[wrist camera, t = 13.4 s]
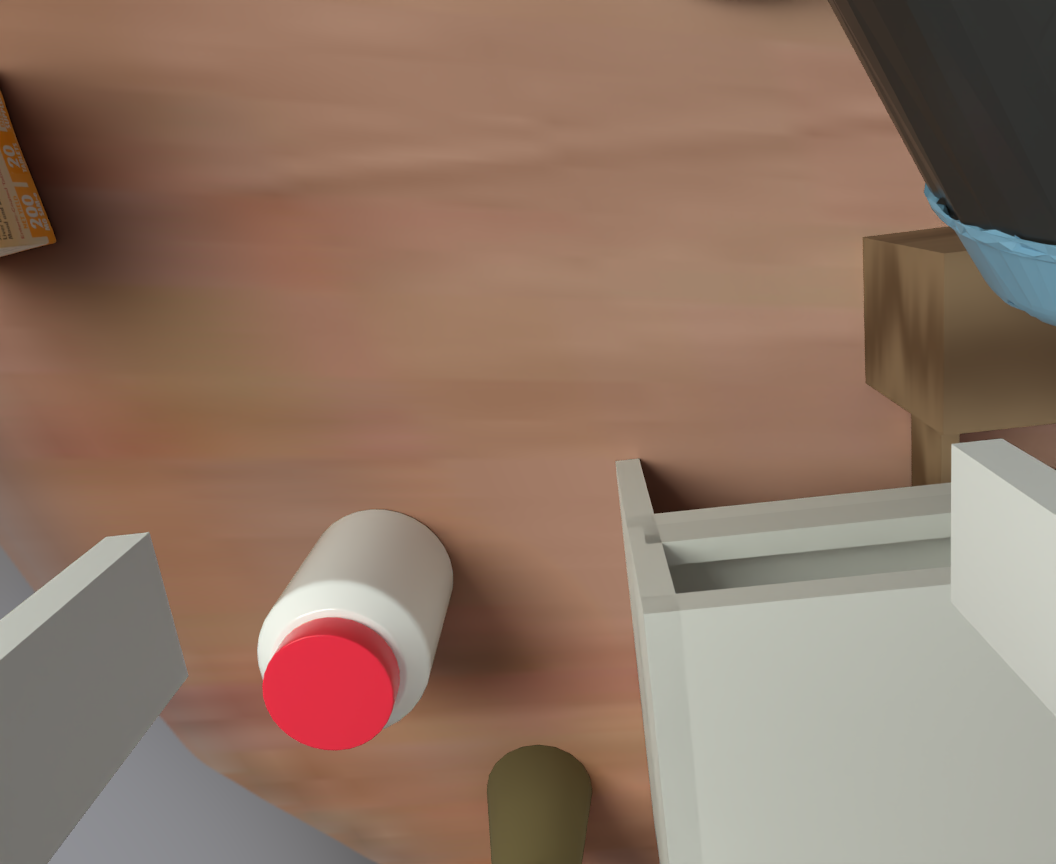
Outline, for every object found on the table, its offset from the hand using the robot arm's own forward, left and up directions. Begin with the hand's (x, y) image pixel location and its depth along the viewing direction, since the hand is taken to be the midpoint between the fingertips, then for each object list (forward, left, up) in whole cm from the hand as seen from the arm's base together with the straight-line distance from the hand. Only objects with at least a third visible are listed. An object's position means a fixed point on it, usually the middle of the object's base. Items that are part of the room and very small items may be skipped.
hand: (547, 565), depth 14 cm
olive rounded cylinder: (+27, -4, -29) cm, 40 cm away
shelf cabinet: (+19, +10, -29) cm, 36 cm away
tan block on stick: (+8, +17, -29) cm, 34 cm away
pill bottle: (+13, -11, -29) cm, 34 cm away
